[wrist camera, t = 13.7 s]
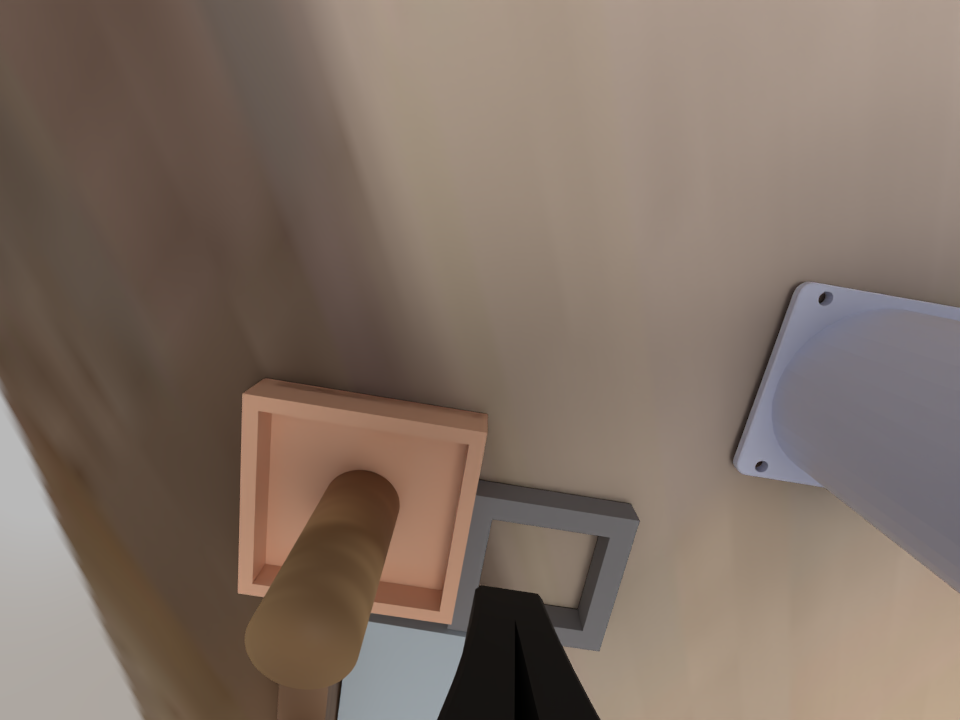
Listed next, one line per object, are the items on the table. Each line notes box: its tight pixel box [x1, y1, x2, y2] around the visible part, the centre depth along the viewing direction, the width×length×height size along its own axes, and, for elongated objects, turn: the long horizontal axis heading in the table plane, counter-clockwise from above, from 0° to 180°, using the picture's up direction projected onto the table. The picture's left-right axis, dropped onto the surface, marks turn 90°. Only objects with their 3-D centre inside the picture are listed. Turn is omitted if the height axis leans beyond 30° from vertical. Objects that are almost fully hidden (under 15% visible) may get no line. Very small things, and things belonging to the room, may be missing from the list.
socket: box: [447, 480, 640, 651], centre depth 21 cm, size 7×7×1 cm
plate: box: [337, 613, 467, 720], centre depth 23 cm, size 8×8×2 cm
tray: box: [238, 378, 488, 625], centre depth 19 cm, size 9×9×2 cm
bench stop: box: [277, 679, 343, 720], centre depth 21 cm, size 2×8×4 cm, turn 170°
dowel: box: [245, 470, 400, 690], centre depth 16 cm, size 3×3×7 cm
